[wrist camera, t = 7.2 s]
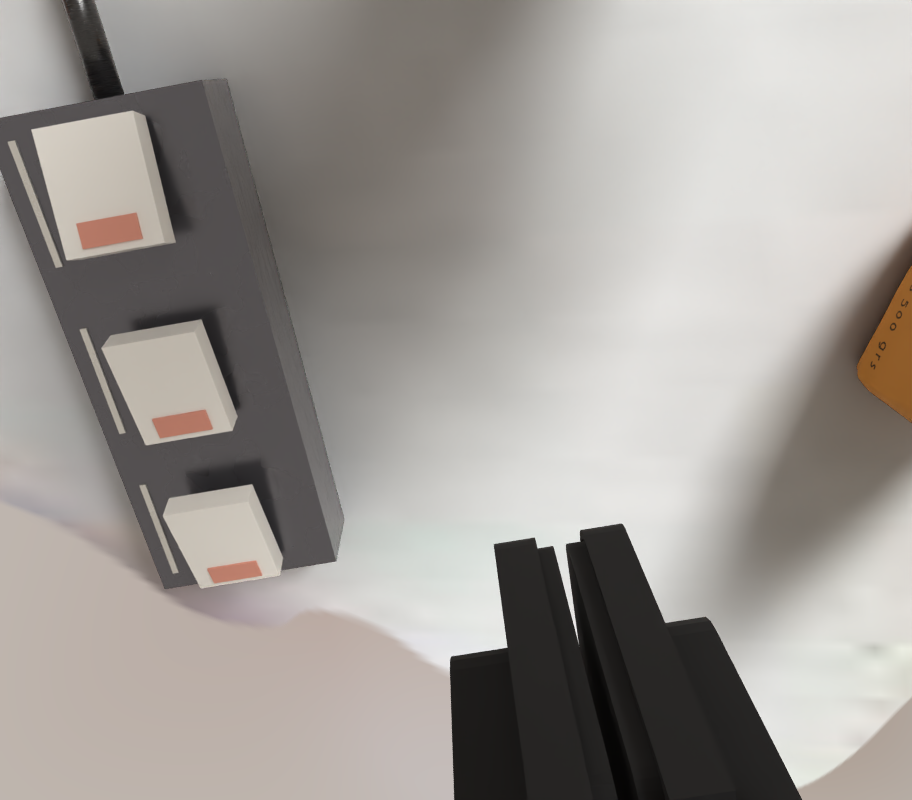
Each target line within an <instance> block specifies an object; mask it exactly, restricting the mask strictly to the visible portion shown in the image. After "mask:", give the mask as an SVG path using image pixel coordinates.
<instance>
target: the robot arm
mask: <svg viewBox="0 0 912 800" xmlns="http://www.w3.org/2000/svg"><path fill="white" fill-rule="evenodd" d="M580 541H581V542H576V543H569V544H566V552H567V559H568V567H569V574H570V582H571V589H572V596H573V604H574V611H575V618H576V626H577V633H578V640H579V644H578V640H577V636H576V632H575V629H574V625H573V621H572V617H571V613H570V609H569V605H568V601H567V597H566V594H565V590H564V586H563V582H562V578H561V574H560V570H559V566H558V562H557V559H556V555H555V551H554V547H553V546H551V547H545V548H538V549H537V545H536V541H535V538H529V539H523V540H517V541H511V542H505V543H498V544H494V549H495V557H496V564H497V572H498V579H499V587H500V594H501V602H502V609H503V617H504V624H505V632H506V639H507V647H508V648H503V649H497V650H491V651H484V652H478V653H471V654H465V655H459V656H452V657H451V660H450V681H451V713H452V742H453V771H454V772H453V773H454V800H802V799H801V797H800V795H799V793H798V791H797V789H796V787H795V785H794V783H793V781H792V779H791V777H790V775H789V773H788V771H787V769H786V767H785V765H784V763H783V761H782V759H781V757H780V755H779V753H778V751H777V749H776V747H775V745H774V743H773V741H772V739H771V737H770V736H769V734H768V732H767V730H766V728H765V726H764V724H763V722H762V720H761V718H760V716H759V714H758V712H757V710H756V708H755V706H754V704H753V702H752V700H751V698H750V696H749V694H748V692H747V690H746V688H745V686H744V684H743V682H742V680H741V678H740V676H739V675H738V673H737V671H736V669H735V667H734V665H733V663H732V661H731V659H730V657H729V655H728V653H727V651H726V649H725V647H724V645H723V643H722V641H721V639H720V637H719V635H718V633H717V631H716V629H715V628H714V626H713V624H712V623H711V621H710V620H709V619H708V618H706V617H702V618H695V619H689V620H683V621H676V622H670V623H665V622H664V619H663V617H662V614H661V612H660V610H659V607H658V605H657V603H656V600H655V598H654V596H653V593H652V591H651V588H650V586H649V584H648V581H647V579H646V577H645V574H644V572H643V570H642V567H641V565H640V562H639V560H638V558H637V555H636V553H635V551H634V548H633V546H632V544H631V541H630V539H629V536H628V534H627V532H626V529H625V527H624V526H623V524H616V525H610V526H604V527H597V528H591V529H585V530H580Z"/></svg>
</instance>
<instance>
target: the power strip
mask: <svg viewBox="0 0 912 800" xmlns="http://www.w3.org/2000/svg"><path fill="white" fill-rule="evenodd" d="M62 3H63V6H64V9H65V12H66V15H67V18H68V21H69V24H70V27H71V30H72V33H73V36H74V39H75V42H76V45H77V48H78V51H79V54H80V57H81V60H82V63H83V66H84V69H85V72H86V75H87V78H88V81H89V84H90V87H91V90H92V93H93V96H94V99H95V100H93V101H88V102H82V103H77V104H72V105H67V106H61V107H56V108H51V109H45V110H40V111H35V112H29V113H24V114H19V115H13V116H8V117H3V118H0V170H1V173H2V175H3V178H4V180H5V183H6V185H7V188H8V190H9V193H10V195H11V198H12V201H13V203H14V206H15V208H16V211H17V213H18V216H19V218H20V221H21V223H22V226H23V229H24V231H25V234H26V236H27V239H28V241H29V244H30V246H31V249H32V252H33V254H34V257H35V259H36V262H37V264H38V267H39V269H40V272H41V274H42V277H43V280H44V282H45V285H46V287H47V290H48V292H49V295H50V297H51V300H52V303H53V305H54V308H55V310H56V313H57V315H58V318H59V320H60V323H61V325H62V328H63V331H64V333H65V336H66V338H67V341H68V343H69V346H70V348H71V351H72V353H73V356H74V359H75V361H76V364H77V366H78V369H79V371H80V374H81V376H82V379H83V382H84V384H85V387H86V389H87V392H88V394H89V397H90V399H91V402H92V404H93V407H94V410H95V412H96V415H97V417H98V420H99V422H100V425H101V427H102V430H103V433H104V435H105V438H106V440H107V443H108V445H109V448H110V450H111V453H112V455H113V458H114V461H115V463H116V466H117V468H118V471H119V473H120V476H121V478H122V481H123V483H124V486H125V489H126V491H127V494H128V496H129V499H130V501H131V504H132V506H133V509H134V512H135V514H136V517H137V519H138V522H139V524H140V527H141V529H142V532H143V534H144V537H145V540H146V542H147V545H148V547H149V550H150V552H151V555H152V557H153V560H154V563H155V565H156V568H157V570H158V573H159V575H160V578H161V580H162V583H163V585H164V588H165V589H168V588H175V587H181V586H187V585H193V584H198V582H197V580H196V578H195V577H194V575H193V573H192V571H191V569H190V567H189V565H188V563H187V561H186V559H185V558H184V556H183V554H182V552H181V550H180V548H179V546H178V544H177V542H176V540H175V539H174V537H173V535H172V533H171V531H170V529H169V527H168V525H167V523H166V521H165V520H164V518H163V513H164V511H165V508H166V505H167V502H168V499H169V498H173V497H179V496H185V495H191V494H197V493H203V492H209V491H215V490H221V489H227V488H233V487H239V486H245V485H251V484H252V485H253V487H254V490H255V492H256V495H257V497H258V499H259V502H260V504H261V506H262V509H263V511H264V514H265V516H266V518H267V521H268V523H269V525H270V528H271V530H272V533H273V535H274V537H275V540H276V542H277V545H278V547H279V549H280V552H281V554H282V556H283V561H282V567H281V570H285V569H291V568H298V567H304V566H310V565H316V564H322V563H328V562H335V561H336V560H337V555H338V550H339V544H340V539H341V534H342V529H343V523H344V516H343V513H342V509H341V505H340V501H339V498H338V494H337V490H336V486H335V483H334V479H333V475H332V471H331V468H330V464H329V460H328V456H327V453H326V449H325V445H324V442H323V438H322V434H321V430H320V427H319V423H318V419H317V415H316V412H315V408H314V404H313V400H312V397H311V393H310V389H309V385H308V382H307V378H306V374H305V371H304V367H303V363H302V359H301V356H300V352H299V348H298V344H297V341H296V337H295V333H294V329H293V326H292V322H291V318H290V314H289V311H288V307H287V303H286V300H285V296H284V292H283V288H282V285H281V281H280V277H279V273H278V270H277V266H276V262H275V258H274V255H273V251H272V247H271V243H270V240H269V236H268V232H267V229H266V225H265V221H264V217H263V214H262V210H261V206H260V202H259V199H258V195H257V191H256V187H255V184H254V180H253V176H252V172H251V169H250V165H249V161H248V158H247V154H246V150H245V146H244V143H243V139H242V135H241V131H240V128H239V124H238V120H237V116H236V113H235V109H234V105H233V101H232V98H231V94H230V90H229V87H228V83H227V79H212V80H199V81H194V82H189V83H183V84H178V85H173V86H167V87H162V88H157V89H151V90H146V91H141V92H136V93H130V94H125V95H124V92H123V88H122V85H121V82H120V79H119V76H118V73H117V70H116V66H115V63H114V60H113V57H112V54H111V51H110V48H109V44H108V41H107V38H106V35H105V32H104V29H103V26H102V23H101V19H100V16H99V13H98V10H97V7H96V4H95V1H94V0H62ZM127 111H135V112H137V113H140V114H142V115H145V117H146V121H147V125H148V129H149V134H150V138H151V142H152V146H153V150H154V154H155V158H156V163H157V167H158V171H159V175H160V179H161V183H162V188H163V192H164V196H165V200H166V204H167V208H168V213H169V217H170V221H171V225H172V229H173V233H174V237H175V242H176V243H172V244H166V245H161V246H155V247H149V248H144V249H138V250H133V251H127V252H122V253H116V254H111V255H105V256H100V257H94V258H88V259H83V260H66V257H65V253H64V250H63V246H62V242H61V238H60V235H59V231H58V227H57V224H56V220H55V216H54V212H53V209H52V205H51V201H50V198H49V194H48V190H47V186H46V183H45V179H44V175H43V171H42V168H41V164H40V160H39V157H38V153H37V149H36V145H35V142H34V138H33V134H32V131H31V129H37V128H42V127H47V126H53V125H58V124H63V123H69V122H74V121H79V120H85V119H90V118H95V117H101V116H106V115H111V114H117V113H122V112H127ZM200 319H201V320H202V322H203V325H204V328H205V330H206V333H207V336H208V338H209V341H210V344H211V346H212V349H213V352H214V355H215V357H216V360H217V363H218V365H219V368H220V371H221V373H222V376H223V379H224V381H225V384H226V387H227V389H228V392H229V395H230V397H231V400H232V403H233V405H234V408H235V411H236V414H237V416H238V417H237V419H236V422H235V425H234V428H233V431H228V432H222V433H216V434H211V435H205V436H199V437H193V438H187V439H181V440H175V441H169V442H163V443H158V444H152V445H145V443H144V440H143V438H142V436H141V434H140V432H139V430H138V427H137V425H136V423H135V421H134V419H133V416H132V414H131V412H130V410H129V408H128V405H127V403H126V401H125V399H124V397H123V395H122V392H121V390H120V388H119V386H118V384H117V381H116V379H115V377H114V375H113V373H112V371H111V368H110V366H109V364H108V362H107V360H106V357H105V355H104V353H103V351H102V349H101V348H102V346H103V345H104V344H105V342H106V341H107V340H108V338H109V337H110V336H111V335H115V334H121V333H127V332H132V331H138V330H144V329H149V328H155V327H161V326H166V325H172V324H178V323H183V322H189V321H195V320H200Z"/></svg>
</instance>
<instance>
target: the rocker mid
mask: <svg viewBox="0 0 912 800" xmlns="http://www.w3.org/2000/svg"><path fill="white" fill-rule="evenodd" d="M101 349H102V351H103V353H104V355H105V357H106V360H107V362H108V364H109V366H110V368H111V371H112V373H113V375H114V377H115V379H116V381H117V384H118V386H119V388H120V390H121V392H122V395H123V397H124V399H125V401H126V403H127V405H128V408H129V410H130V412H131V414H132V416H133V419H134V421H135V423H136V425H137V427H138V430H139V432H140V434H141V436H142V438H143V440H144V443H145V445H152V444H158V443H163V442H169V441H175V440H181V439H187V438H193V437H199V436H205V435H211V434H216V433H222V432H228V431H233V428H234V425H235V422H236V419H237V417H238V416H237V414H236V411H235V408H234V405H233V403H232V400H231V397H230V395H229V392H228V389H227V387H226V384H225V381H224V379H223V376H222V373H221V371H220V368H219V365H218V363H217V360H216V357H215V355H214V352H213V349H212V346H211V344H210V341H209V338H208V336H207V333H206V330H205V328H204V325H203V322H202V320H201V319H200V320H195V321H189V322H183V323H178V324H172V325H166V326H161V327H155V328H149V329H144V330H138V331H132V332H127V333H121V334H115V335H111V336H110V337H109V338H108V340H107V341H106V342H105V344H104V345H103V346H102V348H101Z"/></svg>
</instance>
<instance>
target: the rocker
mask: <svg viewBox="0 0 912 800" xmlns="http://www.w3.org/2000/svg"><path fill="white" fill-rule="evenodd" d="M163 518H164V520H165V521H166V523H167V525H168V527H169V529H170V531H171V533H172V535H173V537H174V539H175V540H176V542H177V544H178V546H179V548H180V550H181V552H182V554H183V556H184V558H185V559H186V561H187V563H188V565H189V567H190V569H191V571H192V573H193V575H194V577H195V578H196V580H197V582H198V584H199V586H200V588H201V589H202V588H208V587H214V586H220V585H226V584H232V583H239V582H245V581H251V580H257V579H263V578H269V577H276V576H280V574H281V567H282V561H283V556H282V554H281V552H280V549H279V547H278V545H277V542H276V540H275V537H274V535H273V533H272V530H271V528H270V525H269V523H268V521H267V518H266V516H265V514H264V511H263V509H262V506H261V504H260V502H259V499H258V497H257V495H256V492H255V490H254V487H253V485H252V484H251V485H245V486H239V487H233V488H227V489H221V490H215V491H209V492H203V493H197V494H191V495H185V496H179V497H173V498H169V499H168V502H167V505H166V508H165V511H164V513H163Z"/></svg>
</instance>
